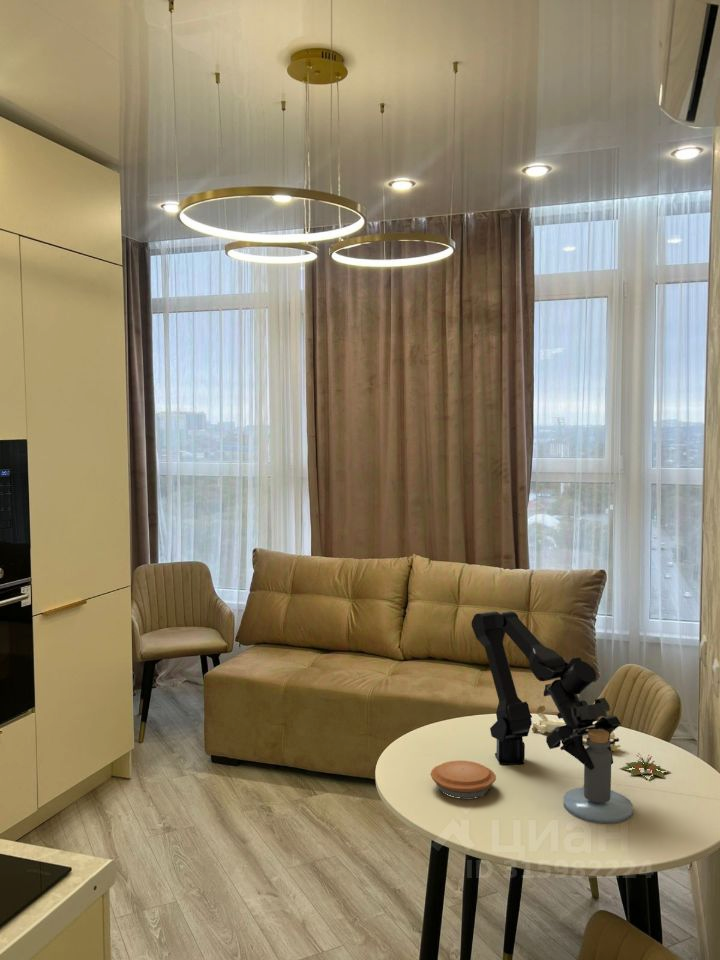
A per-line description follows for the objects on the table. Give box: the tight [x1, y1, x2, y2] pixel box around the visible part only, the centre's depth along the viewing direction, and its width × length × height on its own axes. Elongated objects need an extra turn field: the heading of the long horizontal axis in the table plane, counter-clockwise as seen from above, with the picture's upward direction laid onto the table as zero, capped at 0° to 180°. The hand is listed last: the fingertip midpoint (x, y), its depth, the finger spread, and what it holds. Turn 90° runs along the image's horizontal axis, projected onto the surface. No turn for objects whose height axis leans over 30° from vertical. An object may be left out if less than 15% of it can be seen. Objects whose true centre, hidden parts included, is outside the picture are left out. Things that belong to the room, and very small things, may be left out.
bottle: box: [583, 729, 612, 803], centre depth 180 cm, size 6×6×15 cm
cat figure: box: [531, 704, 621, 752], centre depth 221 cm, size 10×9×25 cm
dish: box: [563, 786, 634, 824], centre depth 181 cm, size 15×15×2 cm
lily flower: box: [619, 752, 670, 782], centre depth 201 cm, size 12×12×5 cm
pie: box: [429, 760, 497, 799], centre depth 191 cm, size 15×16×5 cm
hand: (602, 766), depth 179 cm, fingers closed on bottle, 5 cm apart
